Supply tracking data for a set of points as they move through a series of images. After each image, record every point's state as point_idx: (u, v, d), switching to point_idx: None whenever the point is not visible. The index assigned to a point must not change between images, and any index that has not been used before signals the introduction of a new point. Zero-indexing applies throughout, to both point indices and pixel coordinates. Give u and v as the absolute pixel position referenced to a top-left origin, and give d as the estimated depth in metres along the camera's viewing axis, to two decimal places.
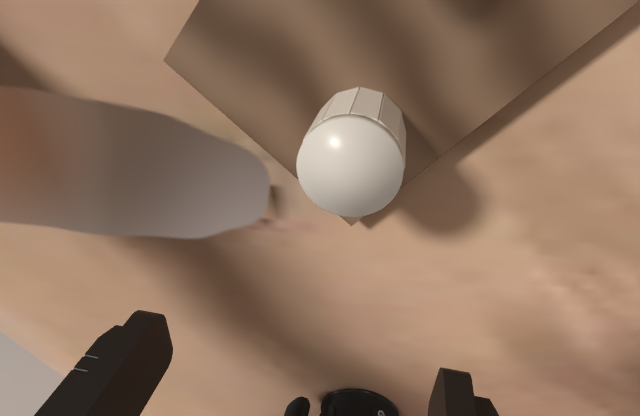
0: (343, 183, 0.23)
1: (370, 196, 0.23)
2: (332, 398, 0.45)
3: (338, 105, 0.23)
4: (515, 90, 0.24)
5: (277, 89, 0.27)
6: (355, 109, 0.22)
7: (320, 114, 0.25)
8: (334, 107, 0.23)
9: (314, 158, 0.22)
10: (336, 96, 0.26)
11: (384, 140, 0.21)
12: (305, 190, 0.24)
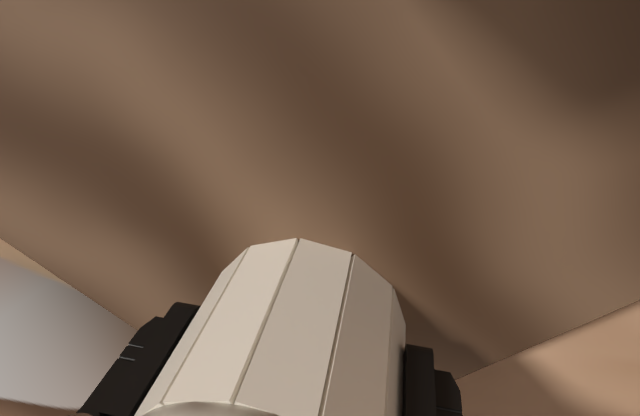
0: None
1: None
2: None
3: (227, 325, 0.09)
4: None
5: (128, 231, 0.13)
6: (255, 373, 0.08)
7: (196, 322, 0.10)
8: (215, 333, 0.09)
9: None
10: (243, 264, 0.11)
11: None
12: None
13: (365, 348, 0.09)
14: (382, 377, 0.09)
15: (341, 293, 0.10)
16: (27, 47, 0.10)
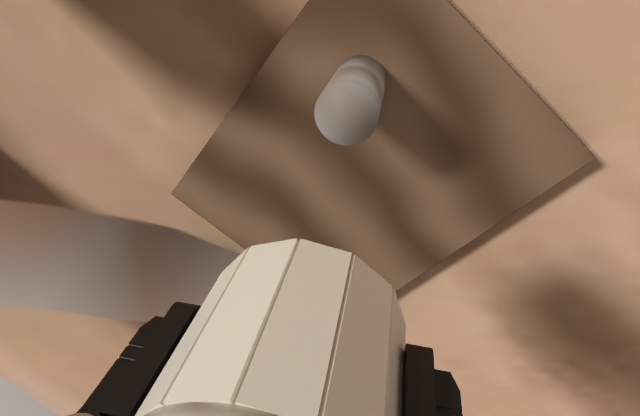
0: None
1: None
2: None
3: (227, 325, 0.09)
4: (485, 225, 0.27)
5: (273, 218, 0.30)
6: (255, 372, 0.08)
7: (197, 322, 0.10)
8: (215, 333, 0.09)
9: None
10: (243, 264, 0.11)
11: None
12: None
13: (365, 348, 0.09)
14: (382, 377, 0.09)
15: (341, 293, 0.10)
16: (249, 151, 0.27)
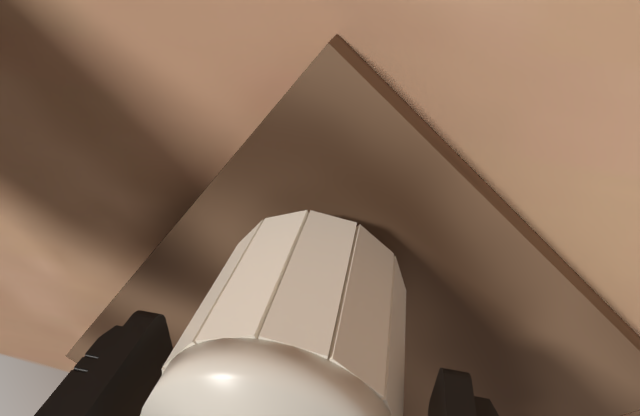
0: None
1: None
2: None
3: (247, 280, 0.10)
4: None
5: None
6: (275, 315, 0.09)
7: (218, 283, 0.11)
8: (237, 287, 0.10)
9: None
10: (259, 233, 0.12)
11: None
12: None
13: (370, 301, 0.10)
14: (385, 326, 0.10)
15: (348, 255, 0.11)
16: None
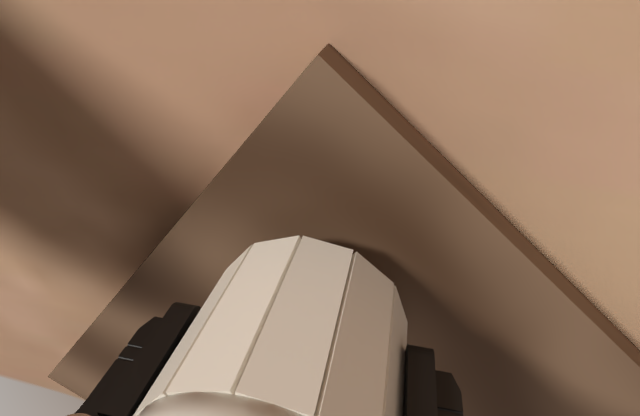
0: None
1: None
2: None
3: (229, 319, 0.09)
4: None
5: None
6: (255, 364, 0.08)
7: (200, 317, 0.10)
8: (217, 326, 0.09)
9: None
10: (246, 260, 0.11)
11: None
12: None
13: (365, 343, 0.09)
14: (381, 371, 0.09)
15: (342, 289, 0.10)
16: None
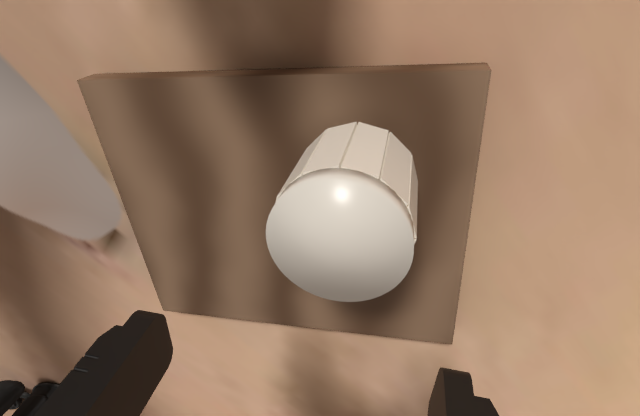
0: (329, 259, 0.17)
1: (367, 278, 0.17)
2: (51, 389, 0.45)
3: (326, 150, 0.17)
4: (344, 328, 0.29)
5: (174, 191, 0.25)
6: (348, 160, 0.16)
7: (303, 159, 0.18)
8: (320, 153, 0.17)
9: (290, 226, 0.16)
10: (326, 134, 0.19)
11: (387, 209, 0.15)
12: (278, 265, 0.17)
13: (398, 166, 0.17)
14: (407, 180, 0.17)
15: (385, 143, 0.18)
16: (206, 124, 0.22)
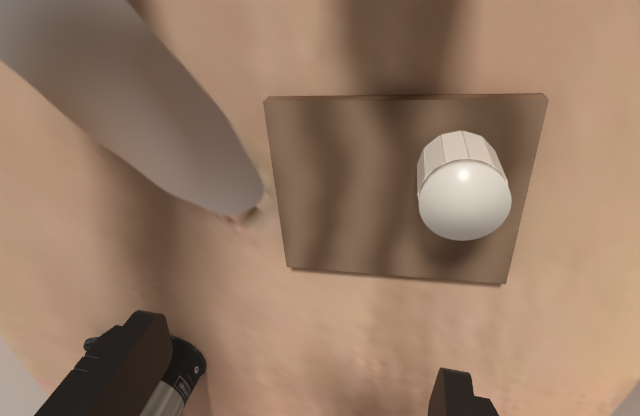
0: (457, 213, 0.28)
1: (479, 224, 0.28)
2: None
3: (452, 149, 0.28)
4: (427, 275, 0.40)
5: (317, 177, 0.37)
6: (471, 154, 0.27)
7: (432, 154, 0.30)
8: (449, 150, 0.28)
9: (436, 193, 0.27)
10: (443, 138, 0.31)
11: (499, 182, 0.26)
12: (423, 218, 0.29)
13: (494, 158, 0.29)
14: (500, 166, 0.28)
15: (484, 144, 0.29)
16: (351, 131, 0.34)
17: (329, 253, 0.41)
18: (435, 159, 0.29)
